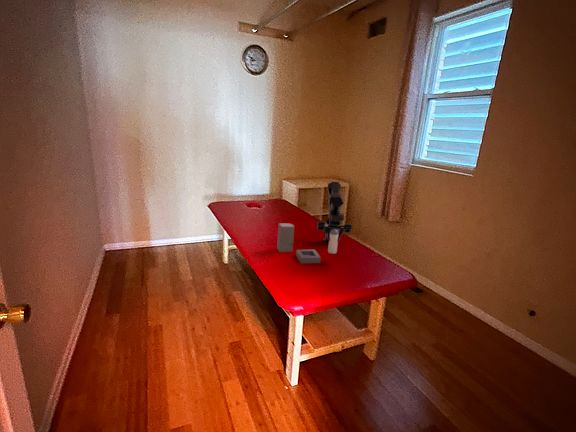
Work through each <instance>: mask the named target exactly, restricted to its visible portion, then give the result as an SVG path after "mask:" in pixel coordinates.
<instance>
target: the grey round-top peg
mask: <svg viewBox="0 0 576 432" xmlns="http://www.w3.org/2000/svg"><path fill="white" fill-rule="evenodd" d="M338 236H339V230H336V229H332V230H331V231H330V236H329V237H330V238H329V243H328V248H327V253H328V254H337V252H338V244H339V242H338Z"/></svg>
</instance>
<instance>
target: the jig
mask: <svg viewBox="0 0 576 432" xmlns="http://www.w3.org/2000/svg"><path fill="white" fill-rule="evenodd" d="M295 256H296V257H297V259H298V262H300V264H321V258H322V257H321V256H320V254H319V253H318V251H316V249H314V248H313V249H296V253H295Z"/></svg>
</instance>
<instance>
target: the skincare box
mask: <svg viewBox="0 0 576 432" xmlns="http://www.w3.org/2000/svg"><path fill="white" fill-rule="evenodd" d="M277 229H278V231H277V241H276V243H277V244H276V245H277V246H276V249H277V250H278V252H279V253H288V252H289V253H290V252H293V249H294V248H293V247H294V238H295V236H294V235H295V225H294V224H292V223H288V222H287V223H278V228H277Z"/></svg>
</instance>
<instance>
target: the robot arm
mask: <svg viewBox="0 0 576 432" xmlns="http://www.w3.org/2000/svg"><path fill="white" fill-rule="evenodd" d="M341 188H342V185H341V184H340V182H339V181H330V182H328V184H327V188H326V189H327V190H326V191H328V192H327V195H328V197H329V198H328V205H329V209H328V218H326V221H317V226H316V229H317V231H322V232H323V233H324V234H325V238H323V241H324V242H325V243H326V244H329V238H330V237H329V236H330V231H331V230H332V229H336V230H338V232H339V236H338V243H339V241H340V240H341V236H342V235H343V234H345V233H351V231H352V228H353V225H352V223H344V224H343V225H342V224H341V221H342V222H343V221H345V218H344V217H345V215H344V214H341V211H342V210H341V209H342V206H343V204H344V200H343V198H342V195H341V194H340V192H341Z"/></svg>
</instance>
